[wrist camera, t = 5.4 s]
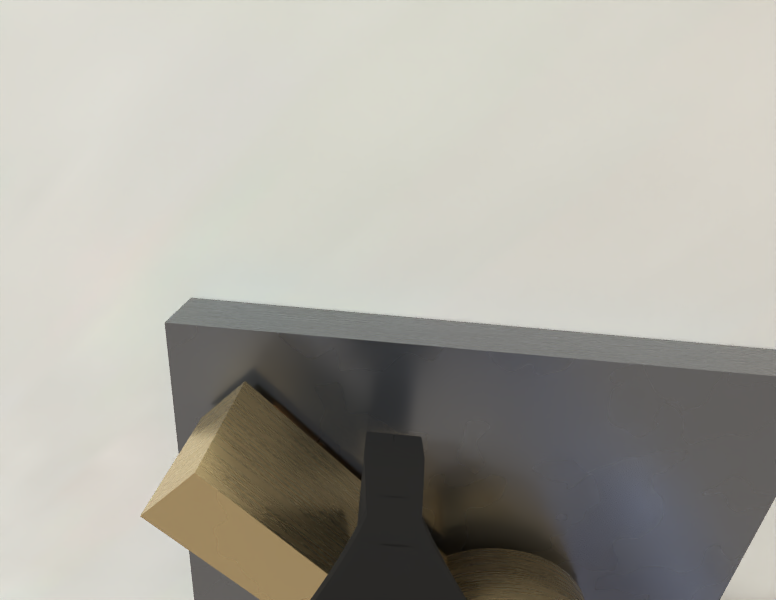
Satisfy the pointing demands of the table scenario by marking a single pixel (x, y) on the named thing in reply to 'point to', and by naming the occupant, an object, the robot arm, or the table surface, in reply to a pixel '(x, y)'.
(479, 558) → the gold elongated piece
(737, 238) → the table surface
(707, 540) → the base plate
